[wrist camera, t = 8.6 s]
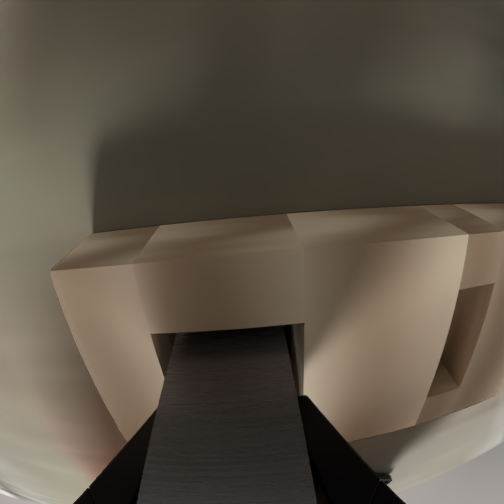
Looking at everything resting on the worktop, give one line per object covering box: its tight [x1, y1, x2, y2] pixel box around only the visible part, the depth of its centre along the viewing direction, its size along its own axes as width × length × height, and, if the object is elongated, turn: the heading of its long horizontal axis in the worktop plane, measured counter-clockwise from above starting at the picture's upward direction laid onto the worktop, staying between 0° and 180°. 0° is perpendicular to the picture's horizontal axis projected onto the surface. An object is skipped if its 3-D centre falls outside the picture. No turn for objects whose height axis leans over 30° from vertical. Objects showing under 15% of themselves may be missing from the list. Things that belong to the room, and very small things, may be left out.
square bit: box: [137, 325, 317, 504], centre depth 7 cm, size 3×3×8 cm
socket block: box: [49, 203, 504, 443], centre depth 10 cm, size 16×8×3 cm, turn 95°
